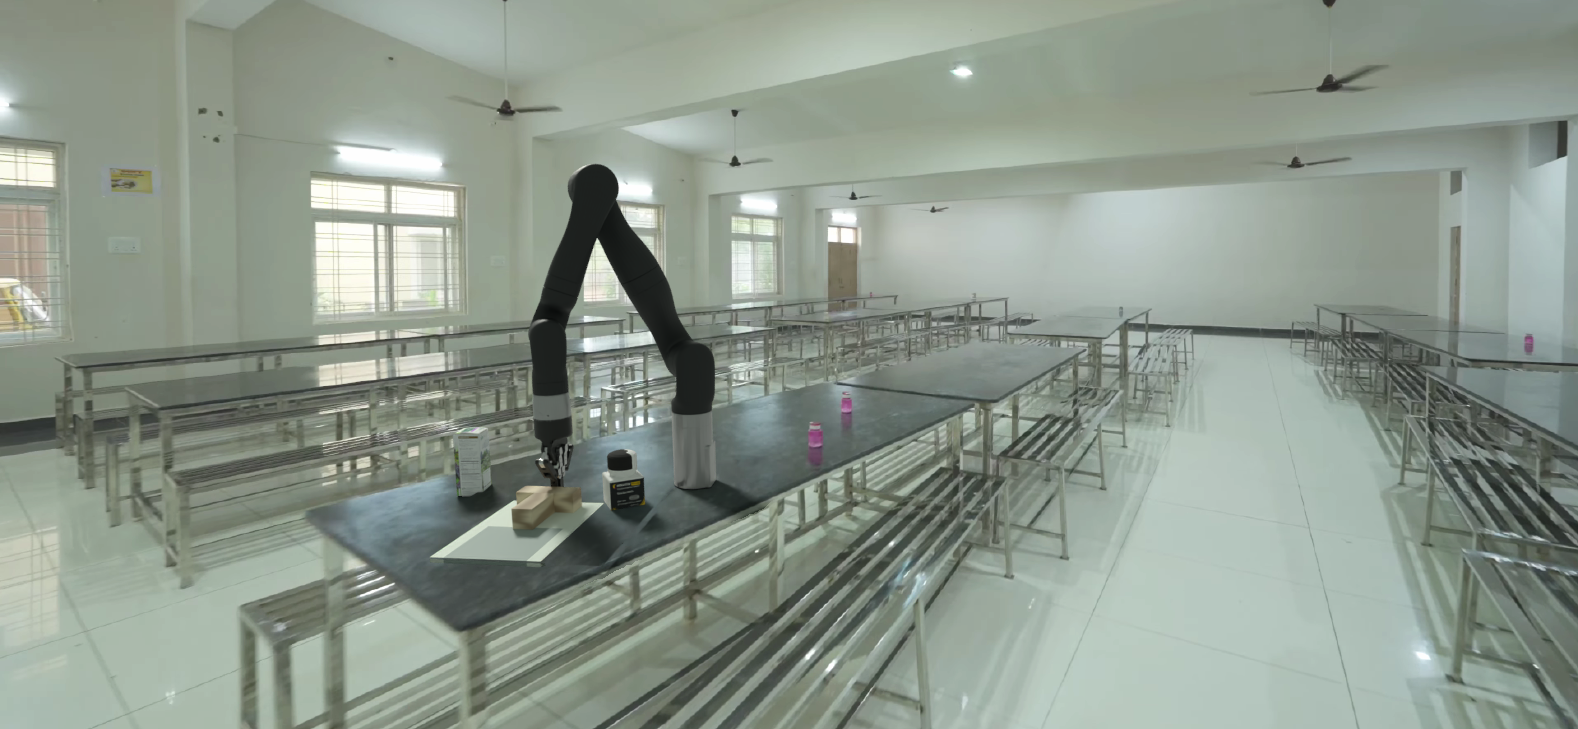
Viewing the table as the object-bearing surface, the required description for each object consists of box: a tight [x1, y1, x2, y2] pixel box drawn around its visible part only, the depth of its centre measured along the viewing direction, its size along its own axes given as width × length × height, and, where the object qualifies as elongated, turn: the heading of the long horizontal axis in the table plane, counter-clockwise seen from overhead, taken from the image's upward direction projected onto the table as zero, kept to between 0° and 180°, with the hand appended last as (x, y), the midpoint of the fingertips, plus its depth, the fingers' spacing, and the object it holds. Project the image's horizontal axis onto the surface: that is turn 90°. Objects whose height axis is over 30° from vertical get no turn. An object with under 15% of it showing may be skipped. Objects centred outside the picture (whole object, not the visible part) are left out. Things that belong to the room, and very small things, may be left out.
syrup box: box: [452, 426, 493, 497], centre depth 149 cm, size 6×6×14 cm
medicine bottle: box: [601, 448, 646, 511], centre depth 139 cm, size 7×7×12 cm
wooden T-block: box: [511, 485, 583, 530], centre depth 132 cm, size 12×13×4 cm
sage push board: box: [429, 499, 605, 568], centre depth 127 cm, size 20×28×1 cm
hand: (558, 494), depth 140 cm, fingers closed
